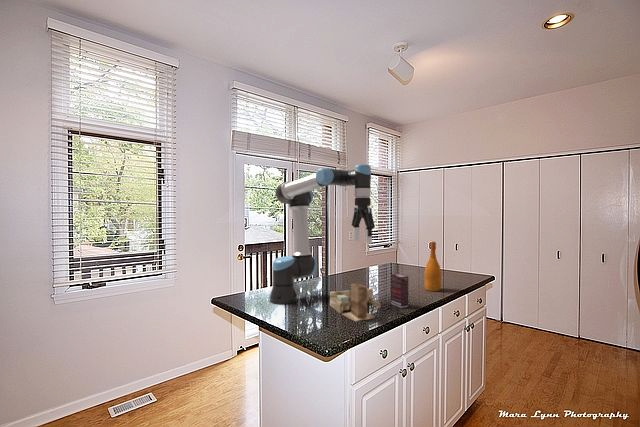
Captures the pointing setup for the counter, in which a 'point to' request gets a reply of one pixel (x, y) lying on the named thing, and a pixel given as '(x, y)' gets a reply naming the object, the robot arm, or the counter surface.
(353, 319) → the cork pad
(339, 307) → the rack
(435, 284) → the wine bottle
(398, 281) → the supplement box
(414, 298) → the counter surface
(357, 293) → the brown rectangular block
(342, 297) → the sage offcut
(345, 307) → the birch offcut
